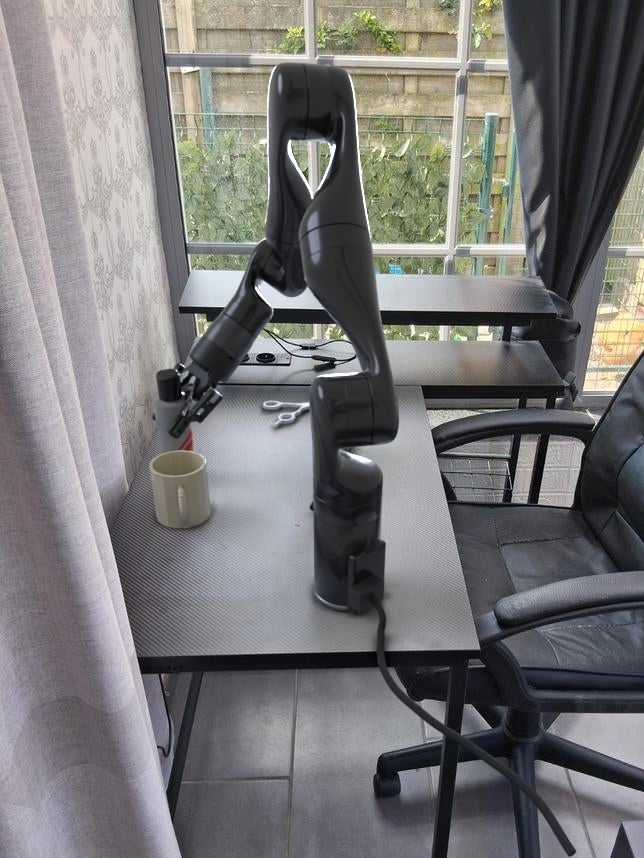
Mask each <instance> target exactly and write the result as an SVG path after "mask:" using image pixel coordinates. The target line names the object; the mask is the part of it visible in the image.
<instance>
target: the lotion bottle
mask: <svg viewBox="0 0 644 858" xmlns="http://www.w3.org/2000/svg"><path fill="white" fill-rule="evenodd" d="M155 380H156V388H157V396H156V397H155V398H154V399H153V409H154V410H153V411H154V412H155V418H156V421H155V424H156V425H155V426H156V432H157V438H158V447H159V455H160V454H162V453H166V452H169V451H177V450H186V451H193V452H195V443H194V436H193V427H192V422H191V423H190V424H189V426H188V427H187V428H186V430H185V431H184V432H183V434H182V435H181V436H180V437H179V438H178V439H175V438H174V437H172V436H170V435H169V434H168V433H167V430H168V429H169V427H170V426H171V425H172V423H173V422H174V421H175V419H176V418H177V416H178V415H179V414H180V415H181V411H182V409H183V406H184V404H185V402H184V397H185V395H184V394H182V389H181V380H180V374H179V373H178V372H177V370H175V369H173V368H166V369H165V368H164V369H161V370H159V371H157V372H156V374H155ZM190 410H191V408H190V409H189V411H190ZM181 416H182V415H181Z"/></svg>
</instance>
